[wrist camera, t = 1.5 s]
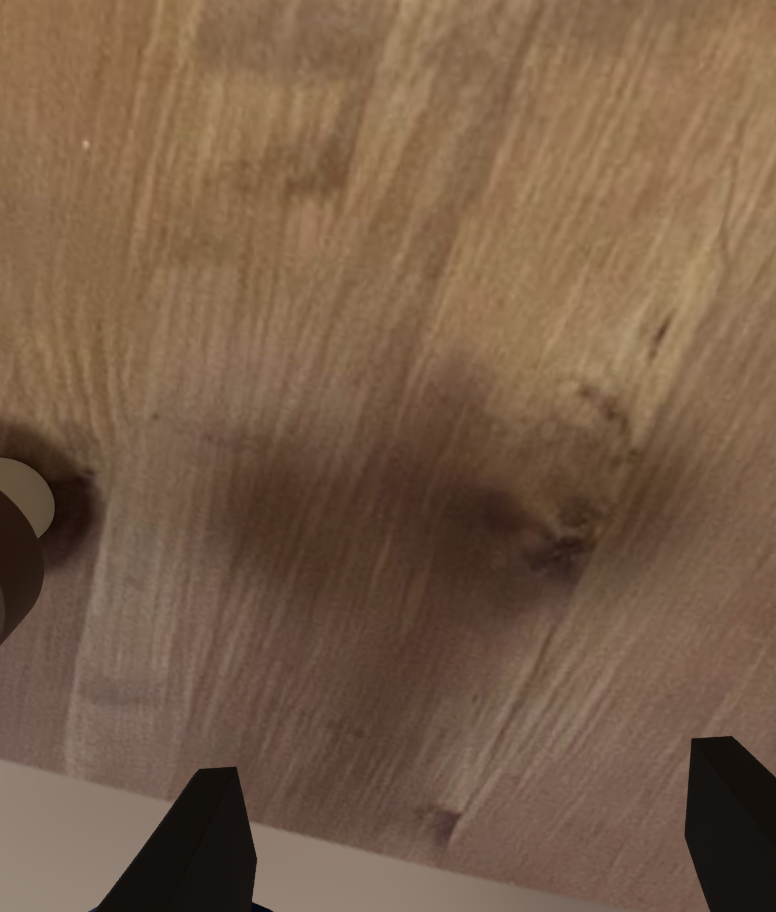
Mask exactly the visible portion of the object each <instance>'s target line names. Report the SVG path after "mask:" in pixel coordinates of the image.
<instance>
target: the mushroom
mask: <svg viewBox="0 0 776 912" xmlns="http://www.w3.org/2000/svg"><path fill="white" fill-rule="evenodd" d="M54 511H55V504H54V498H53V495H52V492H51V490H50V488H49V486H48V484H47V483H46V481H45V480H44V479H43V478H42V477H41V476H40V475H39V474H38V473H37V472H36V471H35V470H34V469H32V468H31V467H29V466H28V465H26V464H24V463H22V462H19V461H16V460H13V459H8V458H0V645H1V644H2V643H3V642H4V641H5V640H6V638H7V637H8V636H9V635H10V634H11V633H12V631H13V630H14V629H15V628H16V627H17V626H18V624H19V623H20V622H21V621H22V620H23V619H24V617H25V616H26V615H27V614H28V613H29V611H30V610H31V609H32V607H33V606H34V605H35V603H36V601H37V599H38V597H39V594H40V591H41V588H42V584H43V577H44V561H43V556H42V550H41V547H40V544H39V541H38V538H39V537H40V536H41V535H42V534H43V533H44V532H45V531H46V530H47V529H48V528H49V526H50V525H51V522H52V520H53V517H54Z"/></svg>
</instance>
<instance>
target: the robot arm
mask: <svg viewBox="0 0 776 912" xmlns="http://www.w3.org/2000/svg"><path fill="white" fill-rule="evenodd" d="M685 839H686V842H687V845H688V848H689V851H690V854H691V857H692V860H693V863H694V866H695V870H696V873H697V876H698V878H699V881H700V884H701V887H702V890H703V893H704V896H705V898H706V901H707V904H708V907H709V909H710V912H776V777H775V776H774V775H773V774H772V773H770V772H769V771H768V770H767V769H766V768H765V767H764V766H763V765H762V764H761V763H760V762H759V761H758V760H757V759H756V758H755V757H754V756H753V755H752V754H751V753H750V752H748V751H747V750H746V749H745V748H744V747H743V746H742V745H741V744H740V743H739V742H738V741H737V740H736V739H734V738H733V737H732V736H725V737H709V738H693V739H692V741H691V754H690V768H689V781H688V795H687V809H686V822H685ZM256 864H257V857H256V852H255V848H254V844H253V839H252V834H251V830H250V825H249V821H248V816H247V812H246V807H245V803H244V798H243V794H242V789H241V785H240V780H239V776H238V772H237V767H223V768H207V769H199V770H198V771H197V772H196V773H195V774H194V775H193V777H192V778H191V780H190V781H189V783H188V784H187V786H186V787H185V788H184V790H183V791H182V793H181V794H180V796H179V797H178V798H177V800H176V801H175V803H174V804H173V806H172V807H171V809H170V810H169V811H168V813H167V814H166V816H165V817H164V818H163V820H162V821H161V823H160V824H159V826H158V827H157V828H156V830H155V831H154V833H153V834H152V835H151V837H150V838H149V839H148V841H147V842H146V844H145V845H144V846H143V848H142V849H141V851H140V852H139V853H138V855H137V856H136V857H135V858H134V860H133V861H132V863H131V864H130V865H129V867H128V868H127V869H126V871H125V872H124V873H123V874H122V876H121V877H120V878H119V880H118V881H117V882H116V884H115V885H114V886H113V888H112V889H111V891H110V892H109V893H108V894H107V896H106V897H105V898H104V899H103V901H102V902H101V903H100V904H99V906H98V907H97V908H96V909H95V911H94V912H250V910H251V903H252V896H253V888H254V880H255V872H256Z"/></svg>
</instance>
